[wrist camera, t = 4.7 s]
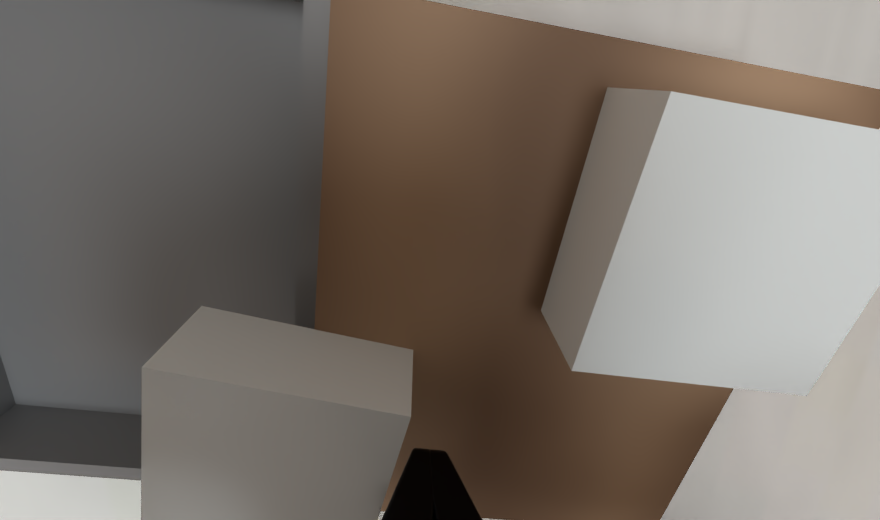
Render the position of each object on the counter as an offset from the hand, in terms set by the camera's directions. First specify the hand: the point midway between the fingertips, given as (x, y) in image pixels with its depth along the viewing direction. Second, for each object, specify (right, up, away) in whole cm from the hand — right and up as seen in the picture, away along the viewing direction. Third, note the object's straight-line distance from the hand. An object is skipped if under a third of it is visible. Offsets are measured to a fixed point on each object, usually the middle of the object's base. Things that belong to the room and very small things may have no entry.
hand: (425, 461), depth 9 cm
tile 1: (-3, +1, 0) cm, 3 cm away
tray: (-8, +5, +3) cm, 10 cm away
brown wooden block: (+2, +4, +4) cm, 6 cm away
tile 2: (+5, +5, -1) cm, 7 cm away
